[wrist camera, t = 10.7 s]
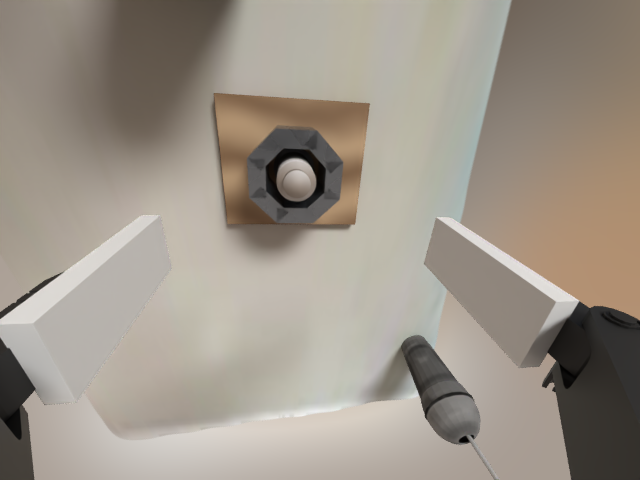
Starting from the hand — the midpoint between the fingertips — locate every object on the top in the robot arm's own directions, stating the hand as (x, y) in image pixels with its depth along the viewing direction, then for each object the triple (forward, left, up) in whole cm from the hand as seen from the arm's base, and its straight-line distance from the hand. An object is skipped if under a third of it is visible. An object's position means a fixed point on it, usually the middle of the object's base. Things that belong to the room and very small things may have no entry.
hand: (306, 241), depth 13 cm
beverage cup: (+31, +22, -21) cm, 43 cm away
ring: (0, 0, -19) cm, 19 cm away
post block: (0, 0, -21) cm, 21 cm away
